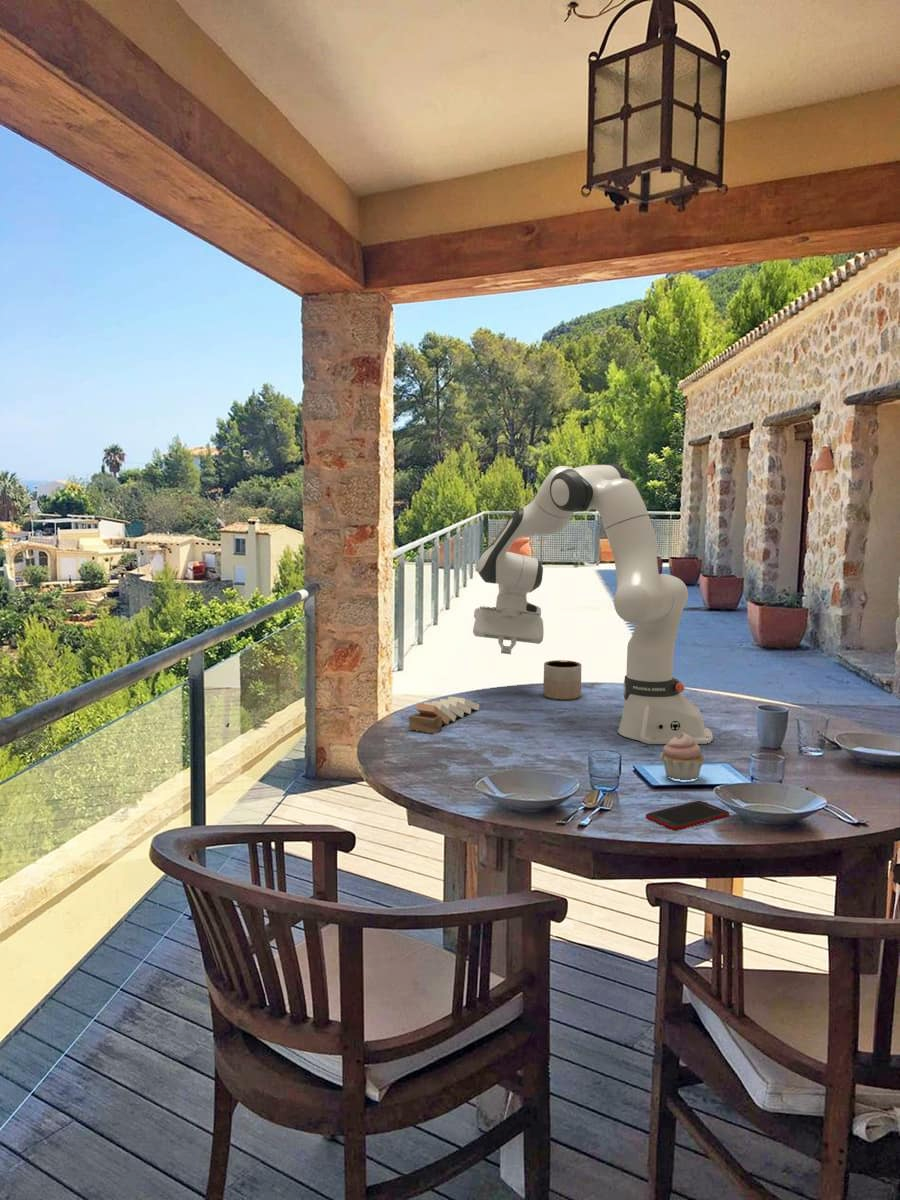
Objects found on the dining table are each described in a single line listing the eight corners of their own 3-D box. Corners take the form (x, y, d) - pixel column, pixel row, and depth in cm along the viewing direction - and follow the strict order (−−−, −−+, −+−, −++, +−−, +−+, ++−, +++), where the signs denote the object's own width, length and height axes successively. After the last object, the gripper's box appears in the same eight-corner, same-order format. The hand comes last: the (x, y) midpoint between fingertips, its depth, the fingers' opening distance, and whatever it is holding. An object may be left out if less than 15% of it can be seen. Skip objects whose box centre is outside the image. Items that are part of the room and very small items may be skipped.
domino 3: (447, 709, 238) (432, 700, 230) (464, 711, 235) (449, 703, 228) (446, 715, 237) (431, 706, 230) (462, 717, 235) (448, 709, 227)
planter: (583, 701, 254) (584, 667, 253) (544, 700, 254) (545, 667, 253) (578, 692, 265) (579, 660, 263) (541, 691, 265) (542, 659, 264)
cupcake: (654, 770, 192) (656, 725, 191) (698, 771, 192) (700, 726, 191) (663, 785, 183) (665, 737, 182) (709, 786, 183) (711, 738, 182)
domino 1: (432, 716, 231) (417, 703, 224) (449, 719, 229) (435, 705, 221) (430, 722, 230) (416, 709, 223) (447, 724, 228) (433, 711, 221)
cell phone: (643, 819, 166) (643, 814, 166) (699, 804, 173) (700, 799, 173) (674, 833, 159) (674, 827, 159) (731, 817, 167) (731, 812, 167)
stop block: (417, 726, 226) (417, 712, 226) (441, 730, 223) (441, 716, 223) (409, 730, 223) (409, 716, 222) (433, 734, 220) (433, 720, 219)
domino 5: (463, 702, 245) (448, 696, 238) (479, 704, 243) (465, 698, 235) (462, 708, 245) (447, 702, 237) (478, 710, 243) (464, 704, 235)
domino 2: (439, 713, 234) (424, 701, 227) (456, 716, 231) (441, 704, 224) (437, 719, 233) (422, 707, 226) (454, 721, 231) (440, 710, 224)
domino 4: (455, 706, 241) (440, 698, 234) (471, 708, 239) (457, 700, 231) (453, 711, 241) (438, 704, 233) (470, 714, 239) (455, 706, 231)
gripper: (475, 600, 259) (469, 644, 253) (546, 608, 258) (542, 653, 252) (475, 609, 265) (469, 652, 259) (544, 617, 263) (540, 661, 257)
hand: (505, 653), depth 255 cm, fingers closed
